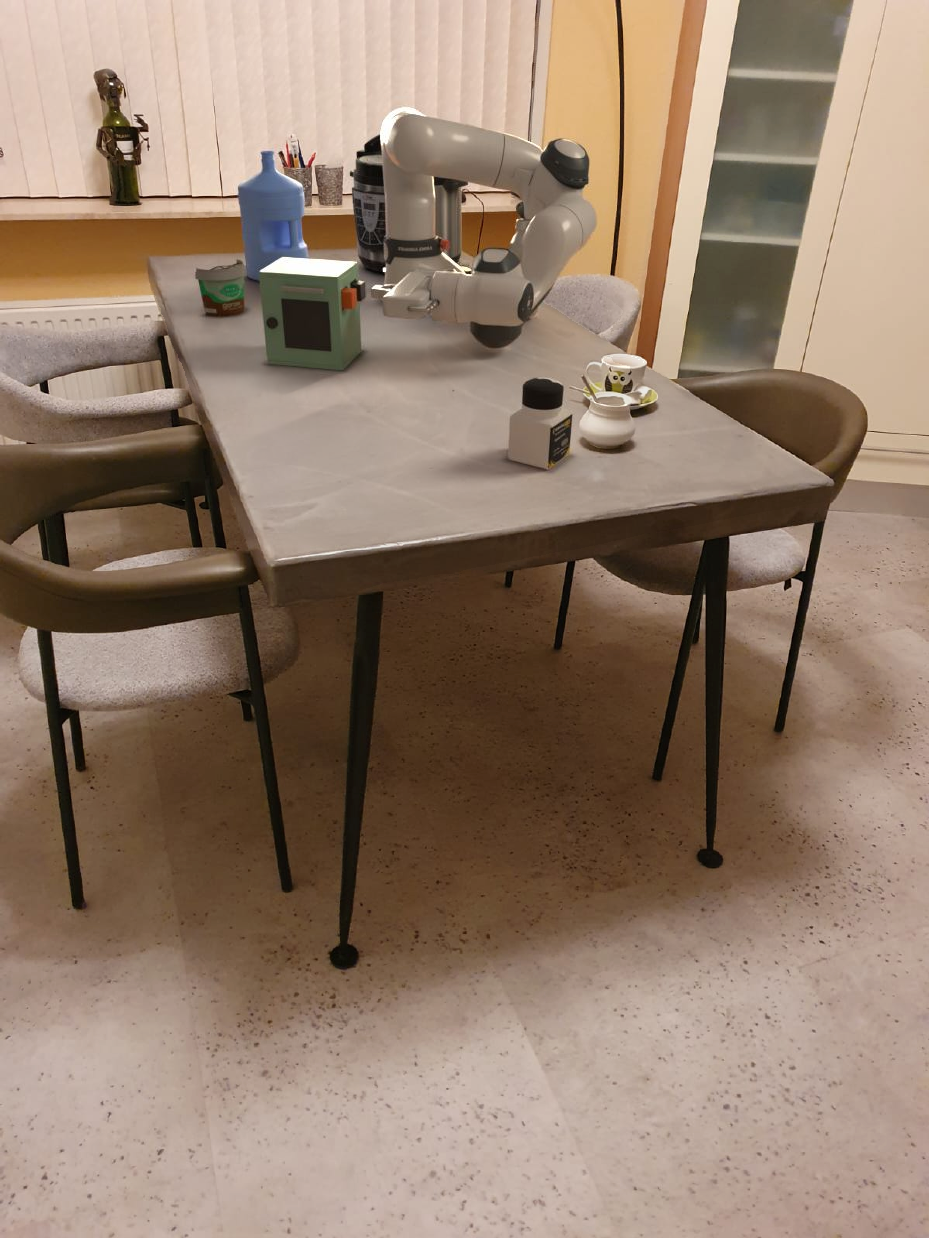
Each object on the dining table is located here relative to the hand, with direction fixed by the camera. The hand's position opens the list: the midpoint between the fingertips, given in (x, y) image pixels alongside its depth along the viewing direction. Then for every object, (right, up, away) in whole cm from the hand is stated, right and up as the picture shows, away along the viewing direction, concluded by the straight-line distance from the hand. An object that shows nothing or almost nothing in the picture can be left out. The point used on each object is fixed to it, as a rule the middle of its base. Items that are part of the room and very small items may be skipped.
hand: (372, 291), depth 180 cm
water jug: (-29, +24, +60) cm, 71 cm away
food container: (-34, +6, +31) cm, 47 cm away
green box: (-12, -11, +7) cm, 17 cm away
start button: (-4, -4, -3) cm, 7 cm away
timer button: (-3, -1, +2) cm, 4 cm away
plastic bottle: (+30, +5, +32) cm, 44 cm away
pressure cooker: (+2, +31, +71) cm, 77 cm away
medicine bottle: (+29, -37, -32) cm, 57 cm away
